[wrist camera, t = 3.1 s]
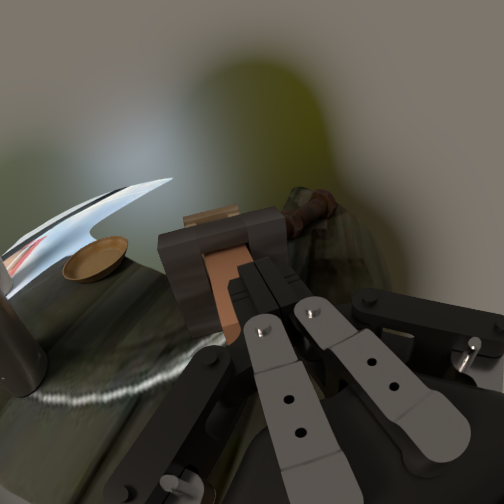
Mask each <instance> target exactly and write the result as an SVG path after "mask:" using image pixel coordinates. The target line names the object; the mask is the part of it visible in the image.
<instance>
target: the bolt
mask: <svg viewBox="0 0 504 504" xmlns="http://www.w3.org/2000/svg"><path fill="white" fill-rule="evenodd" d="M336 208H337V205H336V201H335V199H334V197H333V195H332V194H331V193H330V192H328V191H326V190H320V189H317V190H315V191H314V192H313V194H312V196H311V198H310V200H309V203H307V204H305V205H303V206H302V207H300V208H298V209H297V210H295V211H289V210H284V211H283V212H281V214H282V215H283V216H284V217H285V222H286V233H287V238H290V239H295V238H296V237H298V236H299V235H300V234H301V232H302V230H303V227H304V226H306V225H307V224H309V223H310V222H312V221H313V220H315V219H316V218H318V217H320V216H322V217H325V218H329V217H331V216H332V214H333V213H334V212H335V210H336Z"/></svg>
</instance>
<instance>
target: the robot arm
mask: <svg viewBox="0 0 504 504" xmlns="http://www.w3.org/2000/svg"><path fill="white" fill-rule="evenodd" d="M237 270H238V274H239V277H238V278H235V279H232V280H229V283H228V287H227V289H228V293H229V296H230V299H231V302H232V305H233V308H234V311H235V314H236V317H237V320H238V323H239V325H240V328H241V331H240V334H239V336H238V338H237V339H236V340H235V341H234V342H233V343H231V344H230V345H228V346H227V347H225V348H224V347H222V346H217V345H212V346H207V347H204V348H202V349H200V350H199V351H198V352H197V353H195V355H194V356H193V357H192V359H191V360H190V362H189V363H188V365H187V366H186V368H185V369H184V371H183V372H182V374H181V375H180V377H179V378H178V380H177V381H176V383H175V384H174V386H173V387H172V388H171V390H170V391H169V393H168V394H167V396H166V397H165V399H164V400H163V402H162V403H161V405H160V406H159V408H158V409H157V410H156V412H155V413H154V415H153V416H152V418H151V419H150V421H149V422H148V424H147V425H146V427H145V428H144V429H143V431H142V432H141V434H140V435H139V437H138V438H137V440H136V441H135V442H134V444H133V445H132V447H131V448H130V450H129V451H128V453H127V454H126V455H125V457H124V458H123V460H122V461H121V463H120V464H119V466H118V467H117V468H116V470H115V471H114V473H113V474H112V476H111V477H110V478H109V480H108V481H107V483H106V485H105V487H104V493H103V494H104V499H105V502H106V504H213V503H214V500H215V489H214V487H213V486H212V484H211V483H210V482H209V481H207V479H208V477H209V476H210V474H211V472H212V470H213V468H214V467H215V465H216V463H217V461H218V459H219V457H220V456H221V454H222V452H223V450H224V448H225V446H226V444H227V442H228V441H229V439H230V437H231V435H232V433H233V431H234V429H235V427H236V425H237V423H238V421H239V419H240V417H241V415H242V413H243V411H244V409H245V407H246V405H247V403H248V397H250V396H251V395H253V394H254V393H255V392H257V391H258V392H259V396H260V400H261V403H262V407H263V410H264V414H265V418H266V421H267V426H266V427H265V428H264V429H262V430H261V431H260V432H259V433H258V434H257V435H256V436H255V438H254V439H253V440H252V441H251V443H250V445H249V446H248V448H247V450H246V452H245V454H244V457H243V459H242V461H241V463H240V466H239V468H238V470H237V472H236V474H235V476H234V479H233V481H232V483H231V485H230V487H229V489H228V491H227V493H226V495H225V497H224V499H223V501H222V503H221V504H504V394H503V393H502V384H503V364H504V363H503V362H504V316H503V315H500V314H495V313H490V312H485V311H480V310H475V309H470V308H465V307H460V306H455V305H450V304H445V303H440V302H435V301H430V300H426V299H420V298H416V297H411V296H406V295H401V294H397V293H392V292H387V291H382V290H378V289H372V288H366V289H362V290H359V291H357V292H356V293H355V294H354V295H353V297H352V302H351V303H346V304H339V305H332V304H331V303H330V302H329V301H328V300H326V299H324V298H322V297H315V296H314V295H313V294H312V293H311V291H310V290H309V289H308V287H307V286H306V285H305V284H304V282H303V281H302V280H301V279H300V277H299V276H298V275H297V274H296V272H295V271H294V270H293V269H292V267H290V266H288V265H286V264H284V263H281V264H278V265H275V264H274V263H273V262H272V260H271V259H270V257H269V256H268V257H264V258H261V259H258V260H255V261H253V262H249V263H246V264H242V265H239V266H237ZM383 328H387V329H392V330H396V331H400V332H405V333H409V334H412V335H413V336H414V337H413V338H408V337H403V336H399V335H395V334H391V333H387V332H383ZM293 347H296V349H297V351H298V353H299V354H300V359H301V360H298V359H297V357H296V354H295V352H294V350H293ZM303 364H304V365H305V367H306V368H307V370H308V371H309V373H310V374H311V376H312V377H313V379H314V380H315V382H316V383H317V384H318V386H319V387H320V389H321V390H322V392H323V394H324V396H325V399H323V400H319V399H318V397H317V395H316V393H315V390H314V388H313V386H312V383H311V381H310V379H309V376H308V374H307V372H306V370H305V367H304V365H303ZM47 366H48V358H47V355H46V353H45V352H44V351H43V349H42V348H41V347H40V346H39V344H38V343H37V342H36V340H35V339H34V338H33V337H32V335H31V334H30V332H29V331H28V330H27V328H26V327H25V325H24V324H23V323H22V321H21V320H20V318H19V317H18V315H17V314H16V312H15V311H14V309H13V308H12V306H11V305H10V303H9V302H8V300H7V298H6V297H5V295H4V293H3V292H2V290H1V288H0V384H1V385H2V386H3V387H4V388H5V389H6V390H7V391H8V392H9V393H10V394H12V395H13V396H15V397H23V396H26V395H28V394H30V393H31V392H33V391H34V390H35V389H36V388H37V387H38V386H39V384H40V383H41V381H42V380H43V378H44V376H45V374H46V370H47Z"/></svg>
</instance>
